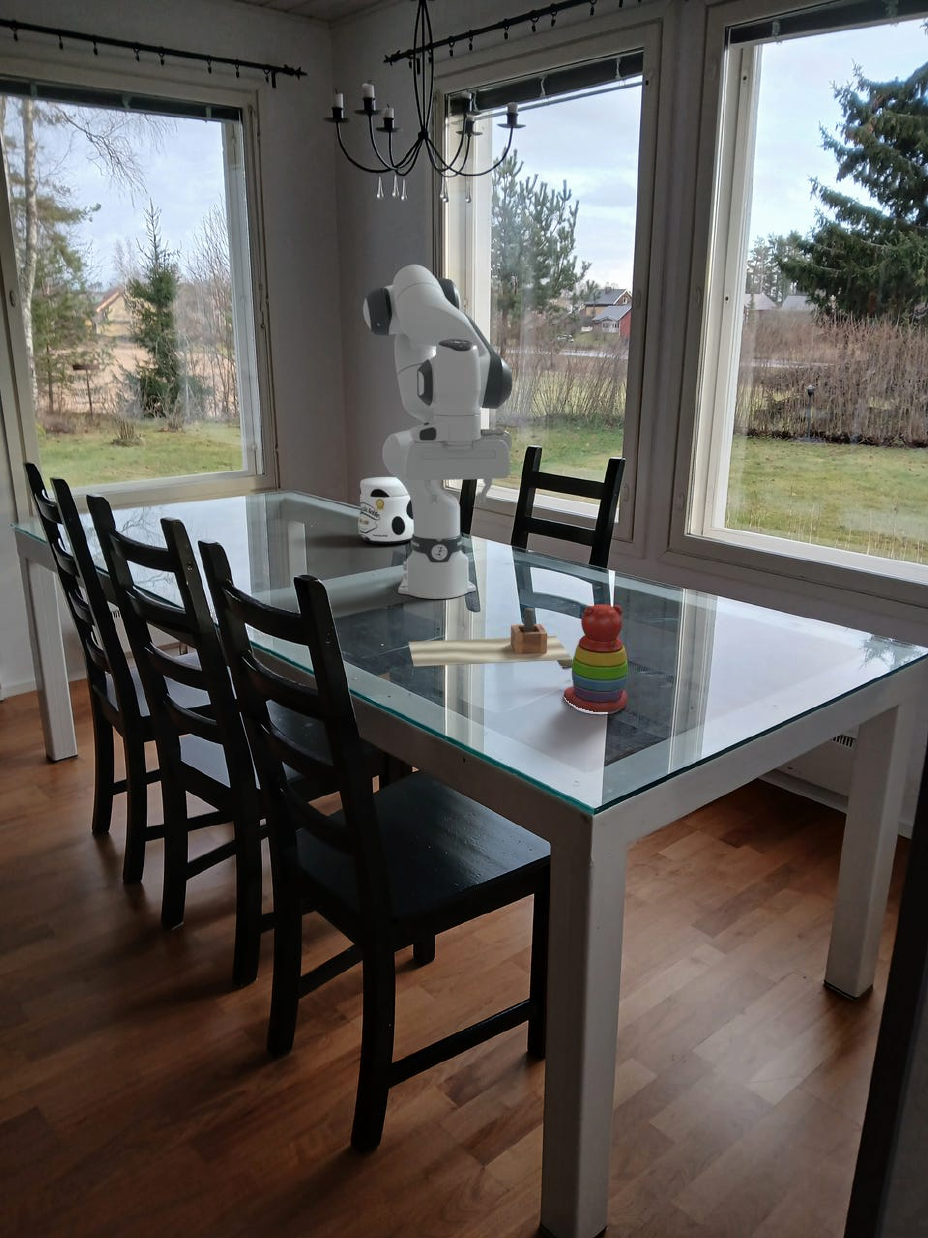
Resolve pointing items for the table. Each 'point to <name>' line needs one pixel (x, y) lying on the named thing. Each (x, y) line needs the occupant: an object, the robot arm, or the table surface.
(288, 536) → the table surface
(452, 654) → the board
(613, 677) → the stacking bear
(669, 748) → the table surface
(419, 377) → the robot arm
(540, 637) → the bead
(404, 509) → the milk container
